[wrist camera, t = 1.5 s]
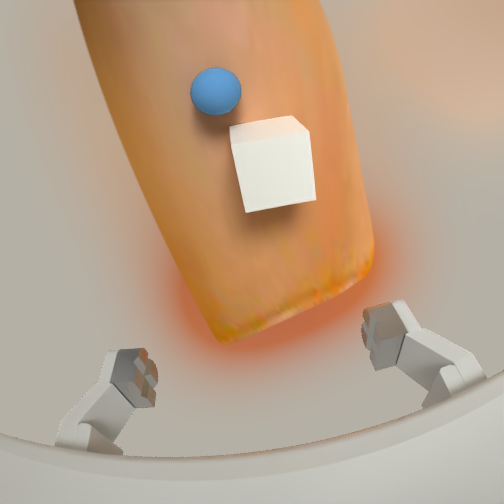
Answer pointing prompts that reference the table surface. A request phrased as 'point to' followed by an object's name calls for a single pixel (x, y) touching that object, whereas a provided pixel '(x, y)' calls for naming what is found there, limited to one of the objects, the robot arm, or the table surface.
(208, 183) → the table surface
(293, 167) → the matte ivory cube
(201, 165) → the table surface
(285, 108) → the table surface
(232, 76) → the ball
